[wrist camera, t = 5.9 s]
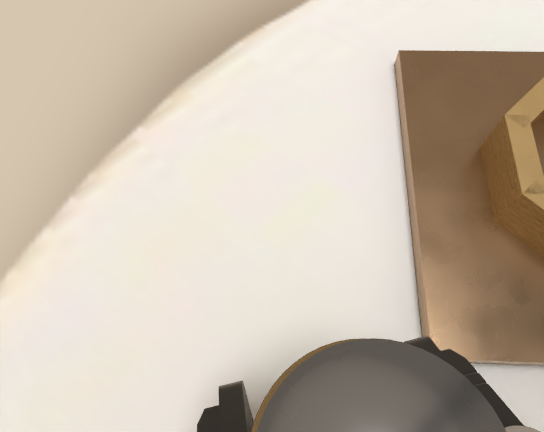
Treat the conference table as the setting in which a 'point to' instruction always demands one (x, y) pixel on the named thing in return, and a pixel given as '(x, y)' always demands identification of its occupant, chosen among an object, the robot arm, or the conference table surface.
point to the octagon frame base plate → (476, 199)
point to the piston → (374, 393)
